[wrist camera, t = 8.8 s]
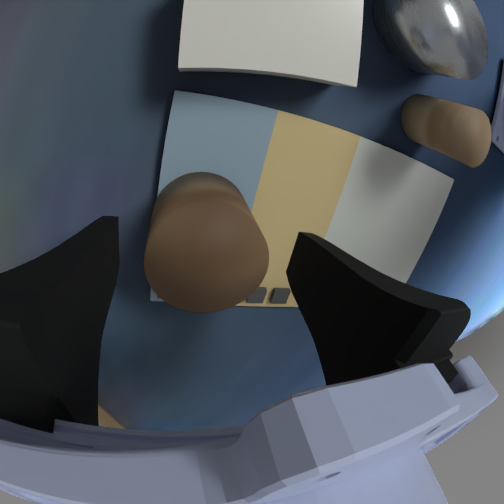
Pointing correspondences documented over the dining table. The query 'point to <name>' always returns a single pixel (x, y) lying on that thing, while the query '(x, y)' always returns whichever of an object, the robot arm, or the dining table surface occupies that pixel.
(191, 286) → the walnut cylinder
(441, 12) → the tin
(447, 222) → the dining table surface
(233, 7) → the soap bar
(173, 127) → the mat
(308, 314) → the robot arm
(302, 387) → the dining table surface
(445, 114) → the cork
